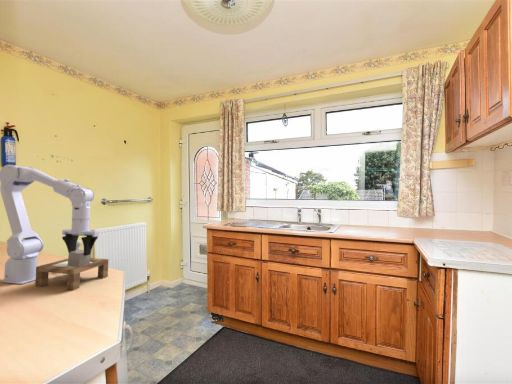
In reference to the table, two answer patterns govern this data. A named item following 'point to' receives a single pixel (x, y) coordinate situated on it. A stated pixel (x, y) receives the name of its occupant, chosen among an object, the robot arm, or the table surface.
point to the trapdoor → (63, 264)
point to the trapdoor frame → (70, 272)
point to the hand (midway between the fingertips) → (79, 254)
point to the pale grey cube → (78, 258)
